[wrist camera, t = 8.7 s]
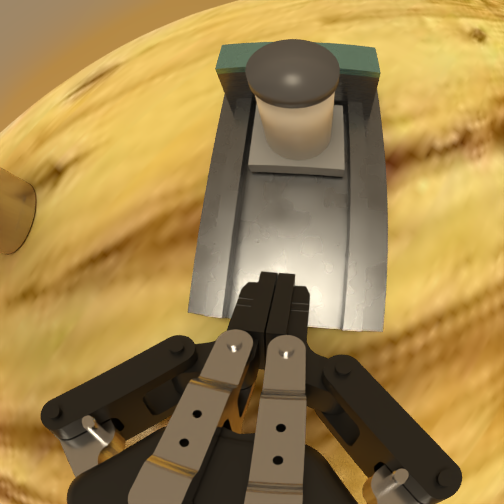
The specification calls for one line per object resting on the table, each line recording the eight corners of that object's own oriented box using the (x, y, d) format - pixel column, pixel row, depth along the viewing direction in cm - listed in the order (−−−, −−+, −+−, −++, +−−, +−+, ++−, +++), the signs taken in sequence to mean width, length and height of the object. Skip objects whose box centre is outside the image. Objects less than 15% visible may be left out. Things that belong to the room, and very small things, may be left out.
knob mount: (192, 312, 23) (152, 309, 17) (231, 82, 27) (214, 34, 21) (379, 331, 20) (408, 335, 14) (374, 86, 25) (384, 37, 18)
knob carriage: (250, 171, 23) (224, 104, 15) (258, 111, 24) (239, 38, 16) (342, 176, 22) (357, 107, 14) (341, 114, 23) (349, 39, 15)
